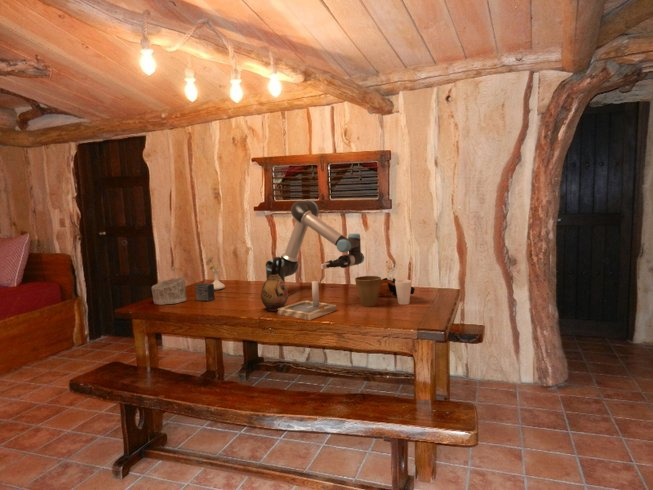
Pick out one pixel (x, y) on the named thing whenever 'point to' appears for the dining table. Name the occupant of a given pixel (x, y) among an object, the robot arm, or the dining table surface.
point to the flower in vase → (216, 282)
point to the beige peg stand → (315, 296)
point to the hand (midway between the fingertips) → (321, 266)
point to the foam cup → (403, 291)
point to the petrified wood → (169, 291)
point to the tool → (389, 288)
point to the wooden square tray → (321, 311)
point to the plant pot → (368, 289)
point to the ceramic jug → (274, 287)
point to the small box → (204, 292)
